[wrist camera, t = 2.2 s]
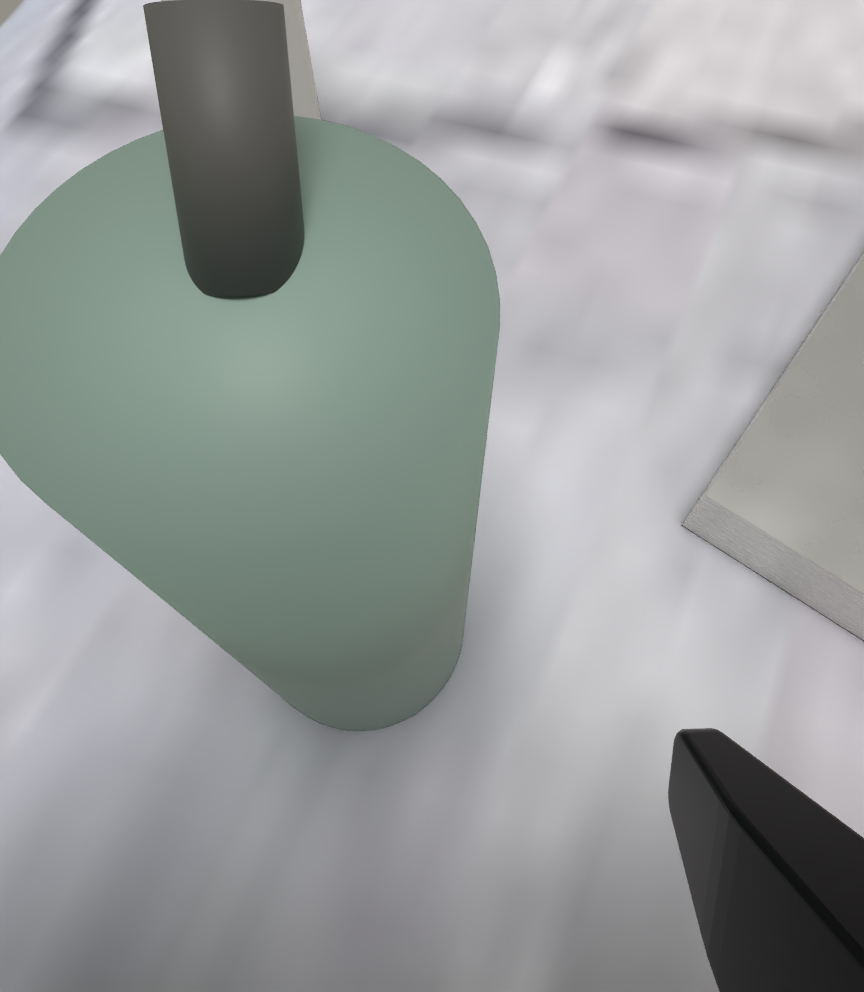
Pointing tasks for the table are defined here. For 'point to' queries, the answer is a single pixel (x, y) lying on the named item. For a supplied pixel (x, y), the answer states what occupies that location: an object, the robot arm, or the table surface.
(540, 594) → the table surface
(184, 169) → the spout can
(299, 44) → the eye dropper bottle
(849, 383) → the grey flat block
